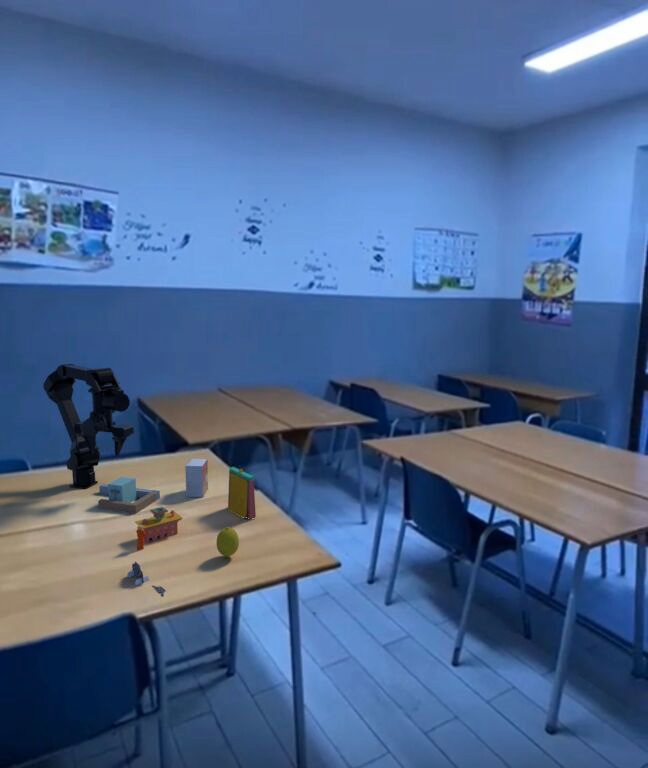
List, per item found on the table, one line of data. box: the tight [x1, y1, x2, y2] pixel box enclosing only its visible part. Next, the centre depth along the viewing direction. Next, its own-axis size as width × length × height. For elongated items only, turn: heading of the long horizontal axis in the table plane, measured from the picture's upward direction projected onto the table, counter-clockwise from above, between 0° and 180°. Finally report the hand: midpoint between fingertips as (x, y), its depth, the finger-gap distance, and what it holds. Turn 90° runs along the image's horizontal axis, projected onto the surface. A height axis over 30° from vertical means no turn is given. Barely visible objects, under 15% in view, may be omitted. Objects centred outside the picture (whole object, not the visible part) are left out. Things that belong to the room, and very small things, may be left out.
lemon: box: [216, 526, 240, 558], centre depth 142 cm, size 6×6×8 cm
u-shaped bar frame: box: [97, 483, 161, 515], centre depth 178 cm, size 21×13×2 cm, turn 74°
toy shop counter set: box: [134, 466, 257, 551], centre depth 159 cm, size 12×35×14 cm, turn 130°
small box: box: [184, 458, 209, 498], centre depth 186 cm, size 8×6×10 cm
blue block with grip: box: [107, 476, 137, 503], centre depth 177 cm, size 5×8×7 cm, turn 164°
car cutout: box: [126, 561, 167, 598], centre depth 128 cm, size 15×7×4 cm, turn 40°
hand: (104, 454), depth 183 cm, fingers open, 9 cm apart
